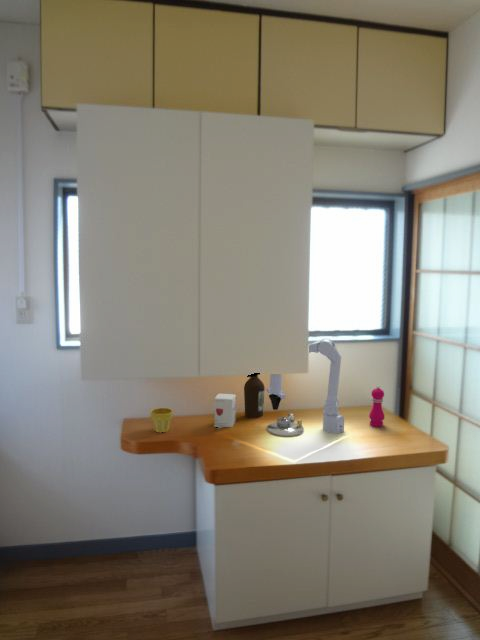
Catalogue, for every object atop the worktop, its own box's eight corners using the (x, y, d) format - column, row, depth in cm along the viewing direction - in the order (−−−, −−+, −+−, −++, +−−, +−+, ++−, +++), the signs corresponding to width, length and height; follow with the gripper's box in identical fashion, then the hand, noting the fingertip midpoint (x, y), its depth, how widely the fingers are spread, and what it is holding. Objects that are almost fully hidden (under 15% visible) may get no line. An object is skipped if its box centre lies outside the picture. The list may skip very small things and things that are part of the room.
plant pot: (177, 429, 222) (177, 409, 221) (164, 436, 213) (164, 415, 212) (159, 425, 227) (158, 406, 225) (146, 432, 217) (146, 412, 216)
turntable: (309, 435, 212) (309, 425, 212) (273, 438, 209) (273, 428, 208) (296, 422, 229) (296, 414, 228) (263, 425, 225) (263, 416, 225)
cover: (292, 427, 219) (292, 419, 218) (279, 428, 217) (279, 420, 217) (287, 423, 225) (288, 415, 224) (275, 424, 223) (275, 416, 223)
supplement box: (213, 428, 224) (213, 398, 222) (217, 422, 232) (218, 393, 231) (232, 429, 222) (232, 399, 220) (235, 423, 231) (235, 394, 229)
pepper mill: (382, 422, 233) (384, 383, 231) (385, 427, 226) (387, 387, 224) (367, 422, 234) (369, 383, 231) (370, 427, 227) (371, 387, 224)
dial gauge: (295, 423, 231) (295, 413, 231) (287, 426, 227) (288, 416, 226) (289, 421, 234) (290, 411, 233) (282, 424, 229) (282, 414, 229)
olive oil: (240, 418, 238) (240, 370, 235) (248, 412, 248) (248, 366, 245) (259, 421, 234) (260, 372, 231) (267, 415, 244) (267, 368, 241)
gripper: (261, 379, 229) (261, 406, 231) (276, 386, 217) (275, 414, 218) (273, 378, 233) (273, 404, 234) (289, 385, 220) (288, 412, 221)
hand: (275, 409), depth 226 cm, fingers closed
